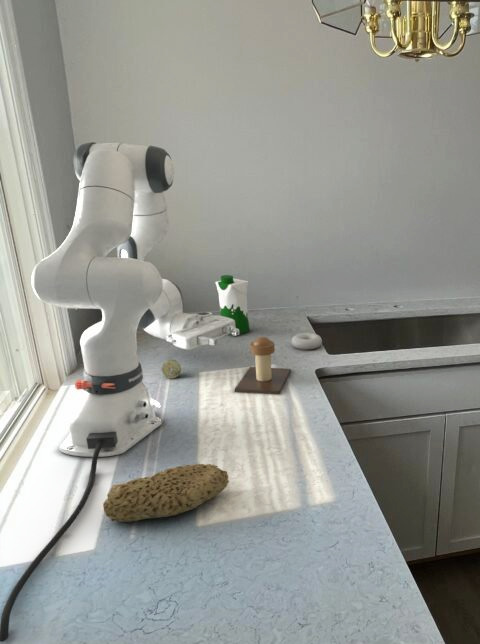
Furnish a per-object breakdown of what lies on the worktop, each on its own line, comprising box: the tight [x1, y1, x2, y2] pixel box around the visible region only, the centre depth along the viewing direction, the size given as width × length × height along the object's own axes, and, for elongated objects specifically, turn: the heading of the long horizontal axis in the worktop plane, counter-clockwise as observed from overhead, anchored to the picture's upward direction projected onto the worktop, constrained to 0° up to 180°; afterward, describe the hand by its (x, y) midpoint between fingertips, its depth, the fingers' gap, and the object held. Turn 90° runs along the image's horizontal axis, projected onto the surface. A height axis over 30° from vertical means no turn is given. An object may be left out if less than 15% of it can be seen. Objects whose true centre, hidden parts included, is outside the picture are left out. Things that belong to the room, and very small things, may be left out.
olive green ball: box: [161, 359, 182, 379], centre depth 156 cm, size 4×5×5 cm
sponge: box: [102, 463, 230, 523], centre depth 101 cm, size 13×8×20 cm
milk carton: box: [215, 274, 251, 337], centre depth 191 cm, size 9×9×20 cm
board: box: [234, 366, 292, 395], centre depth 156 cm, size 16×12×1 cm
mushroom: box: [249, 336, 275, 381], centre depth 154 cm, size 6×6×12 cm
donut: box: [291, 332, 323, 351], centre depth 183 cm, size 10×4×10 cm
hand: (226, 337), depth 156 cm, fingers open, 8 cm apart
